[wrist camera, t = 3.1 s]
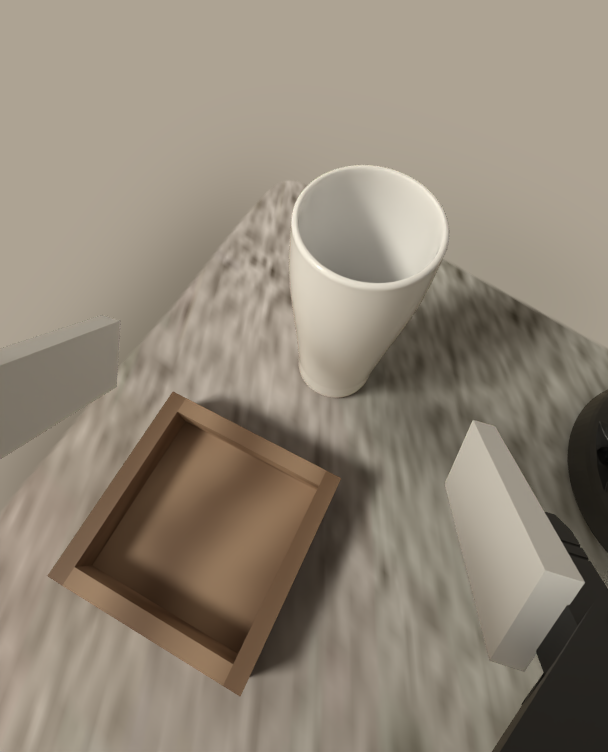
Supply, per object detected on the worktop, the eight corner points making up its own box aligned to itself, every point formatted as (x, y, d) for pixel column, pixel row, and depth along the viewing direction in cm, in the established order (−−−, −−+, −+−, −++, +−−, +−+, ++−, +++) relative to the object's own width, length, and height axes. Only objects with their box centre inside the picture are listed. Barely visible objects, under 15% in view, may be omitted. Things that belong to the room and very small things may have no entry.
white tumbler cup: (325, 312, 33) (353, 139, 19) (396, 361, 31) (482, 214, 17) (270, 372, 30) (254, 228, 17) (343, 428, 29) (393, 322, 15)
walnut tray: (335, 485, 27) (341, 478, 25) (246, 678, 23) (240, 696, 20) (183, 406, 29) (173, 391, 26) (74, 572, 25) (47, 576, 22)
